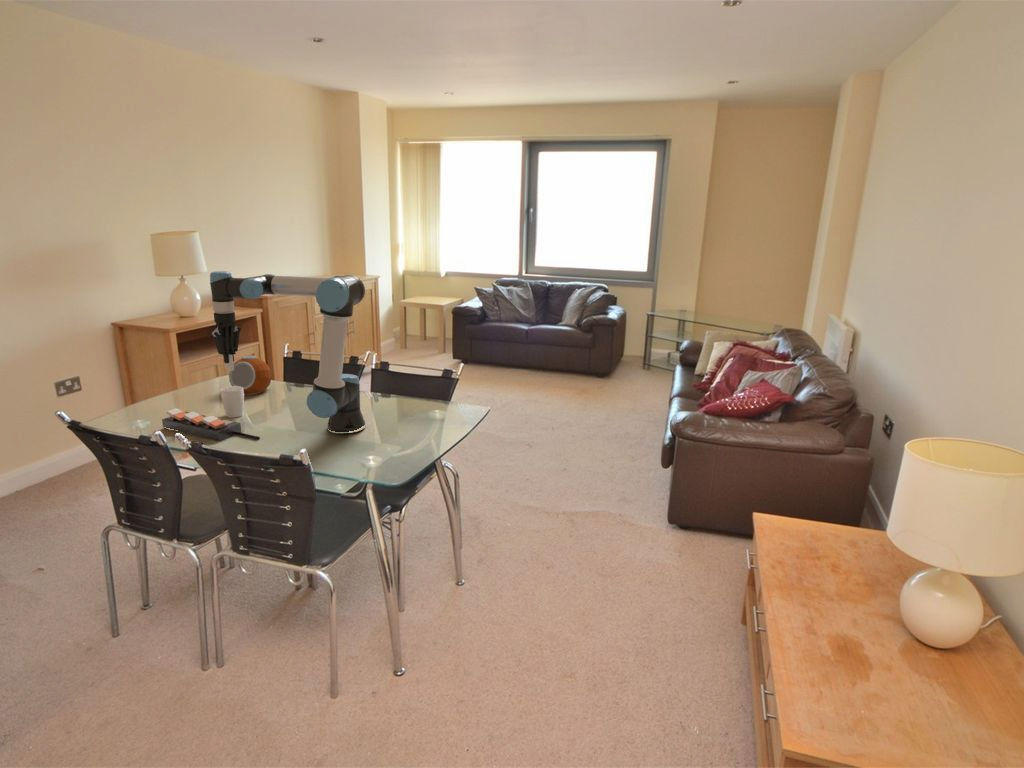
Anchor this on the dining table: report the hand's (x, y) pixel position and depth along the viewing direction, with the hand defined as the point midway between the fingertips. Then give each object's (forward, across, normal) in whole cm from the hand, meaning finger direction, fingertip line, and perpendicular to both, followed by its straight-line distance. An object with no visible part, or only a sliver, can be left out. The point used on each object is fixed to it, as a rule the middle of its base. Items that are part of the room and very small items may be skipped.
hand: (230, 370), depth 239 cm
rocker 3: (+19, +11, 0) cm, 22 cm away
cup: (+25, -11, -12) cm, 30 cm away
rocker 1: (+19, +11, -18) cm, 29 cm away
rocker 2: (+19, +11, -9) cm, 24 cm away
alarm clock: (+25, -41, -32) cm, 58 cm away
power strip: (+24, +8, -3) cm, 26 cm away
